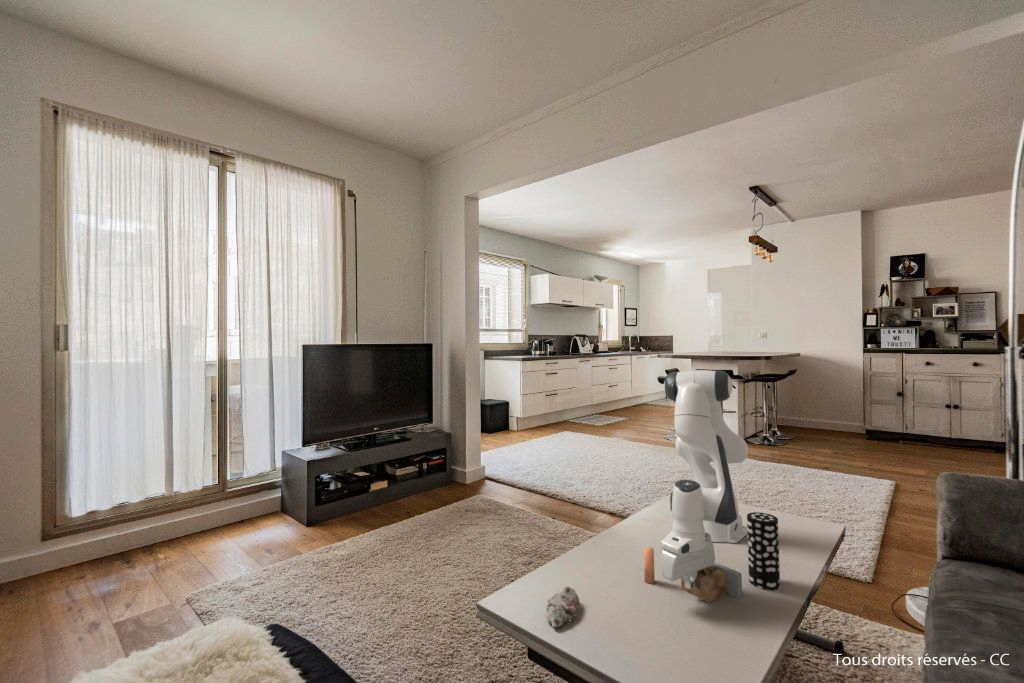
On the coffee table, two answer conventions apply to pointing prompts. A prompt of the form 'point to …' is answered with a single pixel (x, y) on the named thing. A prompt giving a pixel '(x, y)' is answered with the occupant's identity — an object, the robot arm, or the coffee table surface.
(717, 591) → the block
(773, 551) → the white-spotted black cylinder
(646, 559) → the orange rounded capsule
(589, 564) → the coffee table surface
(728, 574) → the slab
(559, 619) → the mineral rock
